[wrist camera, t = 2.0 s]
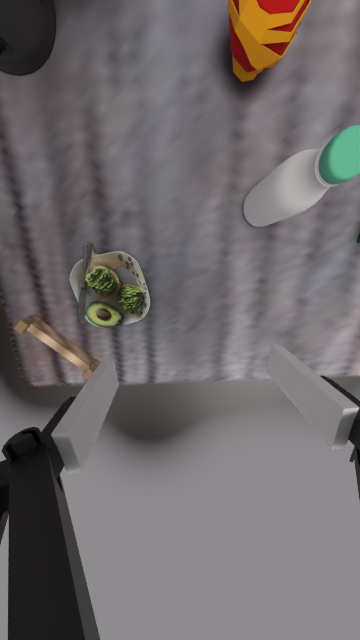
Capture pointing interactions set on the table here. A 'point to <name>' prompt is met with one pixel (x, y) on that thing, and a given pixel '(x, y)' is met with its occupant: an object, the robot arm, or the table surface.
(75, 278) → the salad plate
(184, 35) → the table surface
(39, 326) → the stop rail
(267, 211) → the milk bottle
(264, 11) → the potion bottle
